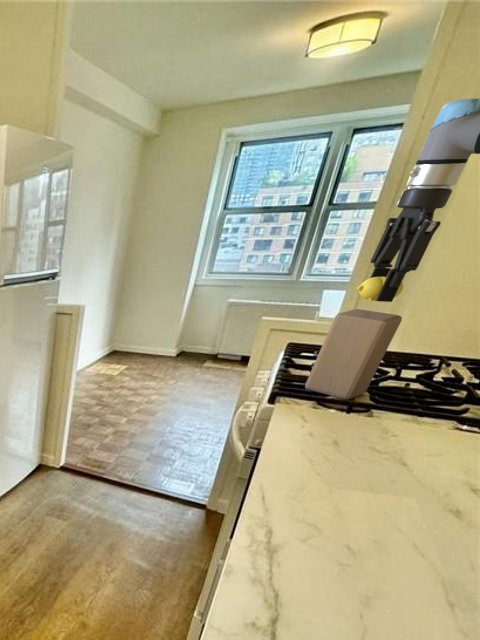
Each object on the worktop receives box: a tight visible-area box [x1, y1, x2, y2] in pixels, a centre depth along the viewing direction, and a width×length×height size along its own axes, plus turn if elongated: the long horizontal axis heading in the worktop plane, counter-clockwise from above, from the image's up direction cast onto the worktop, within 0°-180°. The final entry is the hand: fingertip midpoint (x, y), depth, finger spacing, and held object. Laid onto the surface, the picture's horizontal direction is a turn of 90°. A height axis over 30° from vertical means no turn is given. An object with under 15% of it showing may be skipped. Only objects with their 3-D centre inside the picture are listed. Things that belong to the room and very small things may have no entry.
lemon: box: [356, 277, 404, 302], centre depth 114 cm, size 8×5×5 cm, turn 73°
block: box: [304, 308, 403, 401], centre depth 121 cm, size 10×10×20 cm
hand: (376, 298), depth 115 cm, fingers closed on lemon, 5 cm apart
